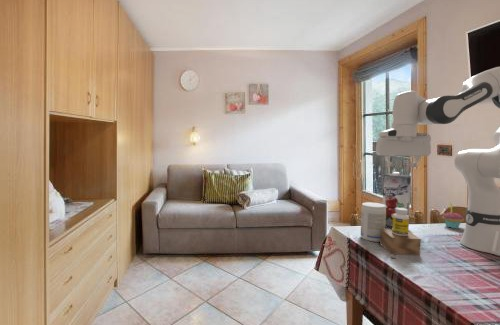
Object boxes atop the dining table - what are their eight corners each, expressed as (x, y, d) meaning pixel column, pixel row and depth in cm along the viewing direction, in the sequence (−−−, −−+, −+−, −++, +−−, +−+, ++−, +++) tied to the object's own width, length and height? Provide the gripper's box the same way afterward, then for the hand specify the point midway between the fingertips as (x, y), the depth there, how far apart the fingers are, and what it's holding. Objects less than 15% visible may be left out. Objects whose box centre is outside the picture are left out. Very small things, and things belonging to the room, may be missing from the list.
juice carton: (386, 222, 139) (389, 170, 137) (409, 228, 131) (413, 172, 129) (379, 226, 133) (382, 171, 131) (403, 231, 125) (406, 173, 123)
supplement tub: (389, 239, 115) (391, 205, 114) (376, 244, 109) (378, 208, 108) (368, 233, 123) (370, 201, 122) (355, 237, 117) (356, 203, 116)
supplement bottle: (392, 235, 103) (394, 209, 102) (391, 230, 108) (392, 206, 107) (409, 237, 101) (410, 211, 100) (406, 232, 106) (408, 208, 105)
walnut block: (405, 244, 109) (406, 230, 109) (419, 255, 99) (420, 239, 99) (380, 243, 110) (381, 229, 110) (391, 253, 100) (392, 238, 100)
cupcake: (437, 224, 138) (439, 201, 137) (452, 224, 139) (454, 201, 138) (452, 230, 129) (453, 205, 128) (468, 229, 130) (470, 204, 129)
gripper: (426, 133, 111) (424, 166, 113) (374, 132, 113) (373, 165, 114) (435, 132, 105) (433, 168, 106) (381, 132, 106) (379, 167, 108)
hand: (401, 167), depth 110 cm, fingers open, 8 cm apart
